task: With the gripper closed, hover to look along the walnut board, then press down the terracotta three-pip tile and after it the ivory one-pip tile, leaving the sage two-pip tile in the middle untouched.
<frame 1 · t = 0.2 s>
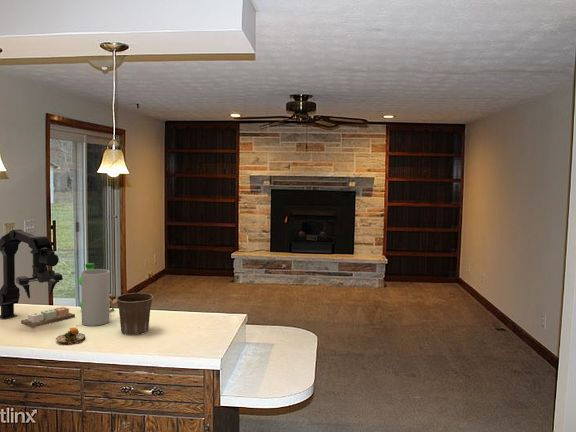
hand: (39, 296, 231), 14 cm above the counter, tool pointing down, fingers open, 9 cm apart
lion figurine: (107, 313, 257), on the counter
tile two pips: (48, 314, 242), point 3 cm above the counter, slide at 0.0 cm
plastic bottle: (90, 311, 260), on the counter
walnut board: (48, 320, 242), on the counter
cylinder vase: (95, 322, 241), on the counter
mossy decorative centerpiece: (70, 341, 215), on the counter
plant pot: (134, 331, 229), on the counter
tile three pips: (61, 311, 247), point 3 cm above the counter, slide at 0.0 cm
tile one pip: (35, 317, 236), point 3 cm above the counter, slide at 0.0 cm
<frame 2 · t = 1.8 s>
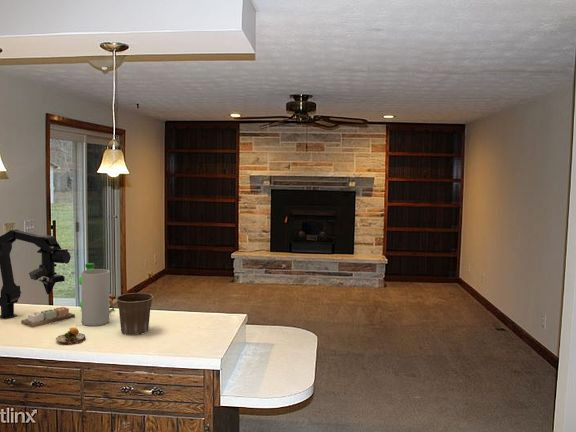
hand: (48, 294, 241), 13 cm above the counter, tool pointing down, fingers closed
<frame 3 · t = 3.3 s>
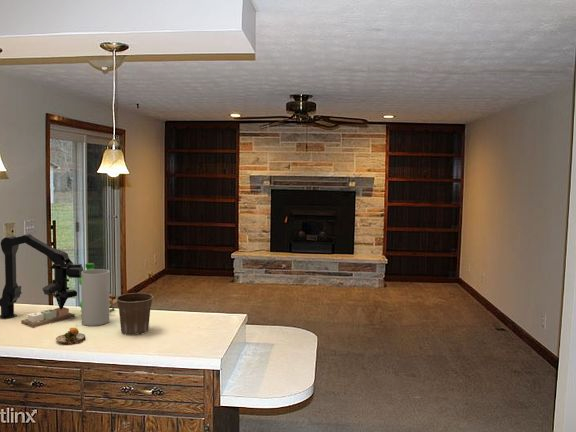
hand: (61, 308, 247), 5 cm above the counter, tool pointing down, fingers closed, pressing on tile three pips
tile three pips: (61, 311, 247), point 3 cm above the counter, slide at 0.2 cm, touching gripper
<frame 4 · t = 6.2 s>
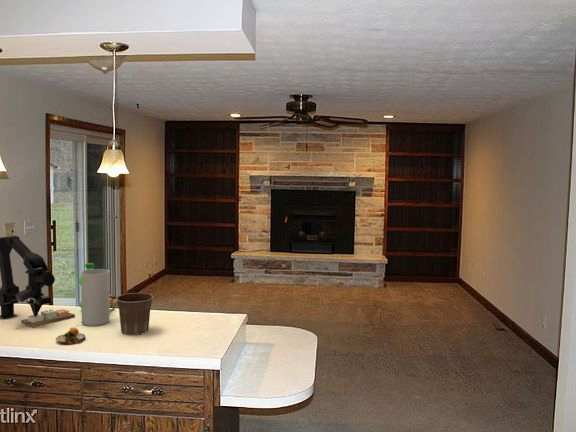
hand: (35, 315, 236), 4 cm above the counter, tool pointing down, fingers closed, pressing on tile one pip
tile three pips: (61, 313, 247), point 2 cm above the counter, slide at 1.2 cm
tile one pip: (35, 318, 236), point 2 cm above the counter, slide at 0.9 cm, touching gripper
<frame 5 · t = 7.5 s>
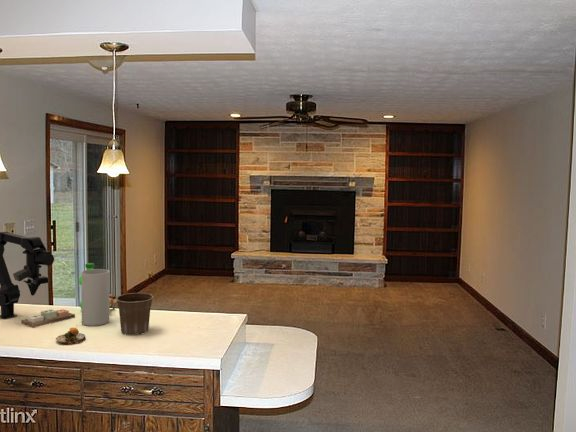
hand: (32, 295, 240), 12 cm above the counter, tool pointing down, fingers closed
tile one pip: (35, 319, 236), point 2 cm above the counter, slide at 1.2 cm
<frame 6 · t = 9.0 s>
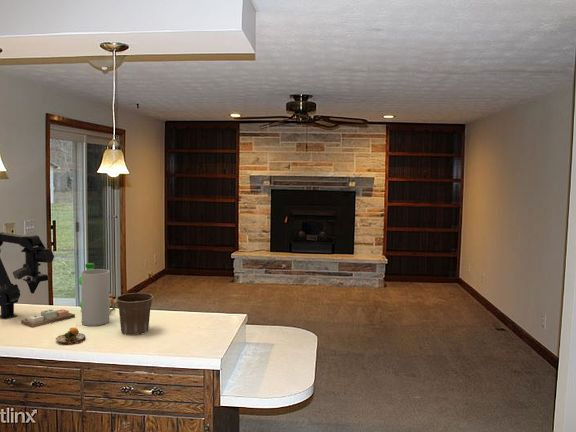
hand: (32, 293, 241), 13 cm above the counter, tool pointing down, fingers closed
at the end: tile three pips slide at 1.2 cm; tile one pip slide at 1.2 cm; tile two pips slide at 0.0 cm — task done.
